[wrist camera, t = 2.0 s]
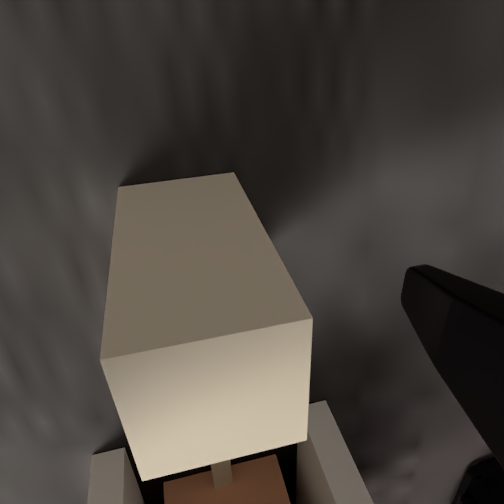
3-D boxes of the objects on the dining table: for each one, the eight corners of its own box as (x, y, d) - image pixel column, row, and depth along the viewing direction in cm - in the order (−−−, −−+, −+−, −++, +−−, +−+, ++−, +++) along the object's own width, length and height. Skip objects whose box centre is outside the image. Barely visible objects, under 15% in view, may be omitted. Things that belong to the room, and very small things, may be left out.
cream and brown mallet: (270, 167, 11) (375, 305, 6) (276, 509, 21) (319, 667, 16) (77, 192, 10) (19, 375, 5) (179, 536, 20) (192, 712, 15)
